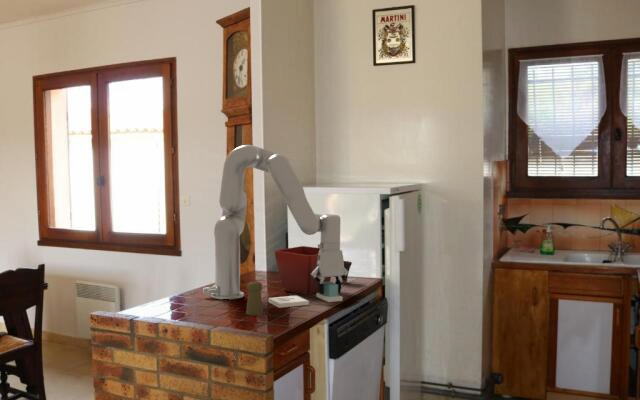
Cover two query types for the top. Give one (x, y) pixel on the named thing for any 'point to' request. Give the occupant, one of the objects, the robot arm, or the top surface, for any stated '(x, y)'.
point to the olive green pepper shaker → (254, 299)
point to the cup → (347, 267)
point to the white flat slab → (288, 301)
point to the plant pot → (298, 269)
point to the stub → (330, 292)
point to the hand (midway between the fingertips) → (329, 292)
